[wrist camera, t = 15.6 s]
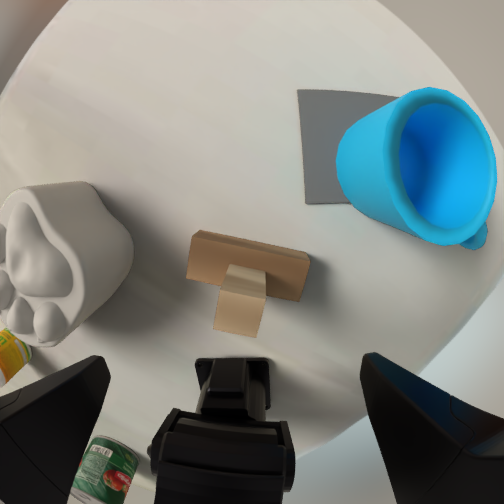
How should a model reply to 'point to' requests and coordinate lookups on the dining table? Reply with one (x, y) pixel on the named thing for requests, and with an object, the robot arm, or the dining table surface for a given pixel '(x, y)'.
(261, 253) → the wooden t-shaped block
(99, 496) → the canned tomato
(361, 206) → the mug
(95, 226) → the lumpy-topped squat cylinder
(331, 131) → the charcoal mat
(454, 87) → the dining table surface
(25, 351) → the supplement bottle
